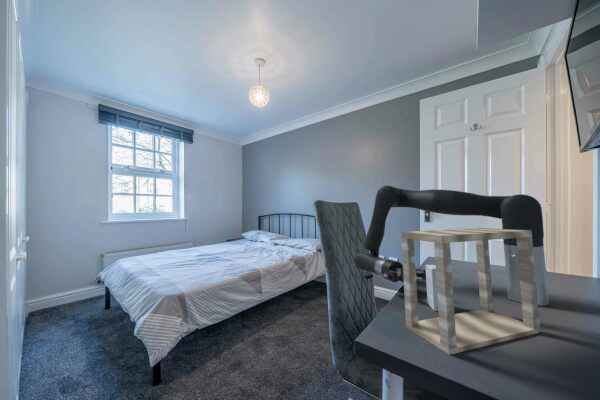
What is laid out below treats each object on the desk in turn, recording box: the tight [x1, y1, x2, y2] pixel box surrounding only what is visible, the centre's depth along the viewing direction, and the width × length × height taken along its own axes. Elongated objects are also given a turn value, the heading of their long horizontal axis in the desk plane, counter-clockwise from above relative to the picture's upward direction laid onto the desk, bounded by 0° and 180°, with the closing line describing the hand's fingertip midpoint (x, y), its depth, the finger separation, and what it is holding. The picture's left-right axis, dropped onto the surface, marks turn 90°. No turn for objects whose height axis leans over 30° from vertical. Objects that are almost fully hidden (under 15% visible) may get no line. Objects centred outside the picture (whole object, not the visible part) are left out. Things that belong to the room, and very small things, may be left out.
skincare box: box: [425, 264, 438, 312], centre depth 70 cm, size 6×4×12 cm
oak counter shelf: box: [400, 227, 541, 356], centre depth 57 cm, size 27×12×24 cm, turn 106°
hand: (420, 279), depth 76 cm, fingers open, 8 cm apart
